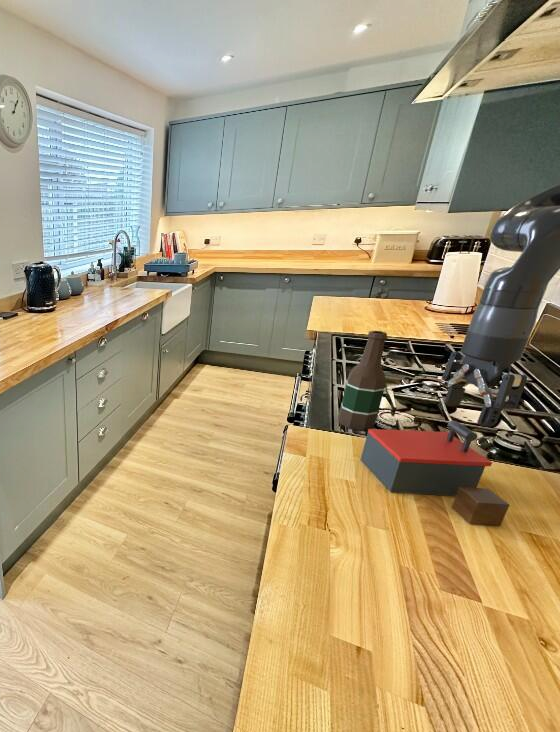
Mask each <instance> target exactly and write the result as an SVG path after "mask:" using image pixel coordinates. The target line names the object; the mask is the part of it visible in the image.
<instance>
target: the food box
mask: <svg viewBox="0 0 560 732" xmlns="http://www.w3.org/2000/svg"><path fill="white" fill-rule="evenodd" d="M360 461H361V462H362V463H363V464H364V466H365V467H366V468H367V469H368V470H369V471H370V472H371V473H372V474H373V475H374V476H375V477H376V479H377V480H379V482H381V484H382V485H383V486H384V487H385V488H386V489H387V491H389V492H390V493H398V494H399V493H400V494H413V495H414V494H416V495H428V496H429V495H430V496H431V495H432V496H444V497H445V496H446V497H456V494H457V491H458V489H459V487H470V488H478V486H479V484H480V480H481V479H482V476H483V474H484V471H485V468H486V466H471V465H452V464H432V463H413V462H399V461H398V460H397V459H396V458H395V457H394V456H393V455H392V454H391V453H390V452H389V451H388V450H387V449H385V448H384V447H383V446H382V445H381V444H380V443H379V442H378V441H377V440H376V439H375V438H374V437H373V436H371V435H370V434H369V433H368V432H367V434H366V438H365V441H364V445H363V449H362V453H361V455H360Z"/></svg>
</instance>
